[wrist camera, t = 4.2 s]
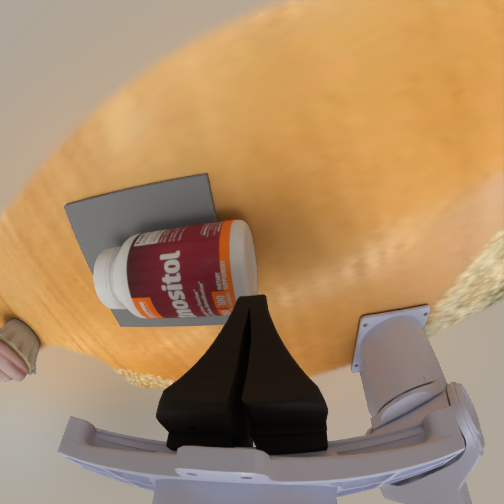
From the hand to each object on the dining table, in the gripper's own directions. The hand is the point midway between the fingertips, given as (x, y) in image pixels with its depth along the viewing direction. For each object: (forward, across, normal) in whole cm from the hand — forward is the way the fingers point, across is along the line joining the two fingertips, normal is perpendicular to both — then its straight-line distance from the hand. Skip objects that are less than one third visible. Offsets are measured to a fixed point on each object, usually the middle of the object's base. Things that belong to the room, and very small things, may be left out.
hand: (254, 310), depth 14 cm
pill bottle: (+5, 0, 0) cm, 5 cm away
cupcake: (+9, +37, +12) cm, 40 cm away
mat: (+8, +9, +2) cm, 13 cm away
